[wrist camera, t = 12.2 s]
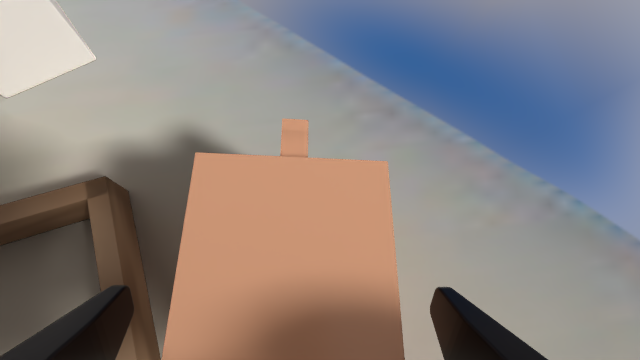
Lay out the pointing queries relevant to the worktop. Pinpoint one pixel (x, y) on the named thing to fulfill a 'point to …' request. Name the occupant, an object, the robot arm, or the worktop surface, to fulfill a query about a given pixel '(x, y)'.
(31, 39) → the milk
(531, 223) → the worktop surface
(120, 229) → the frame
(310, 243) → the peach box with tab
